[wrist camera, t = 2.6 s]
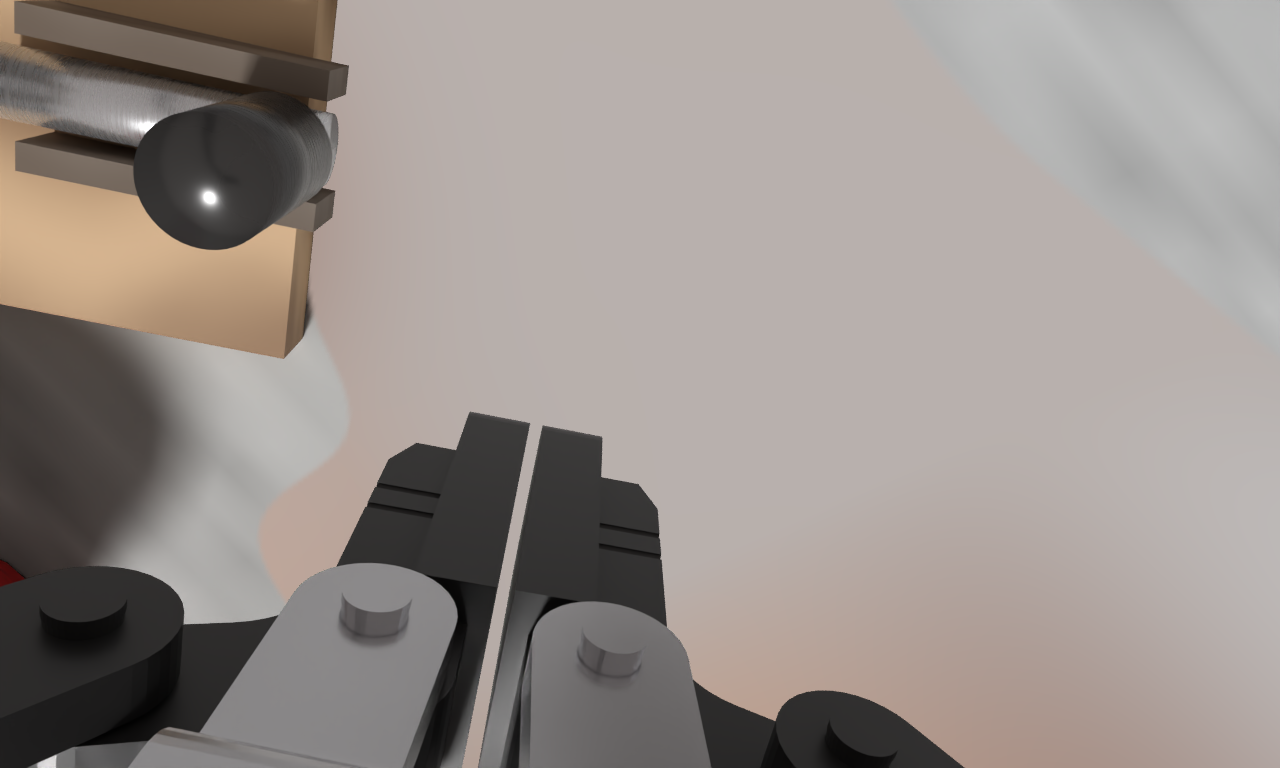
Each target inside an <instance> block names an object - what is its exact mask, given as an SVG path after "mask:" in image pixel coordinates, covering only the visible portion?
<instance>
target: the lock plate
mask: <svg viewBox="0 0 1280 768" xmlns="http://www.w3.org/2000/svg"><path fill="white" fill-rule="evenodd" d="M336 9H337V0H0V41H3V42H7V43H12V44H17V45H21V46H26V47H30V48H35V49H39V50H44V51H49V52H53V53H58V54H62V55H67V56H72V57H76V58H81V59H85V60H90V61H94V62H99V63H104V64H108V65H113V66H117V67H122V68H127V69H131V70H136V71H140V72H145V73H149V74H154V75H159V76H163V77H168V78H172V79H177V80H182V81H186V82H191V83H195V84H200V85H204V86H209V87H214V88H218V89H223V90H227V91H232V92H237V93H241V94H246V95H247V94H250V93H254V92H260V91H274V92H280V93H284V94H287V95H289V96H292V97H294V98H296V99H298V100H299V101H301V102H303V103H304V104H305V105H307V106H308V107H309V108H310V109H314V110H319V111H324V112H326V106H327V101H330V100H332V99H335V98H338V97H340V96H343V95H345V94H346V87H347V77H348V68H349V66H347V65H343V64H338V63H334V62H331V58H332V48H333V39H334V28H335V18H336ZM137 148H138V147H135V146H130V145H126V144H121V143H116V142H112V141H107V140H102V139H97V138H93V137H88V136H83V135H78V134H74V133H69V132H64V131H59V130H55V129H50V128H45V127H40V126H36V125H31V124H26V123H21V122H17V121H12V120H7V119H2V118H0V304H2V305H7V306H13V307H18V308H23V309H28V310H33V311H39V312H44V313H49V314H54V315H59V316H64V317H70V318H75V319H80V320H85V321H90V322H96V323H101V324H106V325H111V326H116V327H121V328H127V329H132V330H137V331H142V332H147V333H153V334H158V335H163V336H168V337H173V338H178V339H184V340H189V341H194V342H199V343H204V344H210V345H215V346H220V347H225V348H230V349H236V350H241V351H246V352H251V353H256V354H261V355H267V356H272V357H277V358H282V359H284V358H285V357H286V356H287V355H288V354H289V353H290V351H291V350H292V349H293V348H294V347H295V346H296V345H297V344H298V343H299V342H300V340H301V339H302V338H303V329H304V319H305V310H306V300H307V290H308V281H309V271H310V261H311V251H312V242H313V232H314V231H315V230H316V229H318V228H319V227H320V226H322V225H323V224H324V223H325V222H327V221H328V220H329V219H330V218H332V214H333V205H334V196H335V191H334V190H329V189H324V188H322V189H321V190H320V191H319V192H318V193H317V194H316V195H315V196H313V197H312V198H311V199H309V200H308V201H306V202H305V203H303V204H302V205H300V206H299V207H297V208H296V209H294V210H293V211H291V212H290V213H288V214H287V215H286V216H284V217H283V218H281V219H280V220H278V221H277V222H275V223H274V224H272V225H271V226H269V227H268V228H266V229H265V230H263V231H262V232H260V233H259V234H257V235H256V236H254V237H253V238H251V239H250V240H248V241H246V242H245V243H243V244H241V245H238V246H236V247H233V248H229V249H223V250H205V249H199V248H195V247H191V246H189V245H186V244H184V243H181V242H179V241H178V240H176V239H174V238H172V237H171V236H169V235H168V234H166V233H165V232H164V231H163V230H162V229H161V228H159V227H158V226H157V225H156V224H155V222H154V221H153V220H152V219H151V218H150V216H149V215H148V214H147V212H146V211H145V209H144V207H143V206H142V204H141V202H140V199H139V197H138V195H137V191H136V188H135V183H134V177H133V165H134V158H135V154H136V150H137Z"/></svg>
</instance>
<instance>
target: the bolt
mask: <svg viewBox="0 0 1280 768" xmlns="http://www.w3.org/2000/svg"><path fill="white" fill-rule="evenodd" d="M0 118H2V119H7V120H12V121H17V122H21V123H26V124H31V125H36V126H40V127H45V128H50V129H55V130H59V131H64V132H69V133H74V134H78V135H83V136H88V137H93V138H97V139H102V140H107V141H112V142H116V143H121V144H126V145H130V146H135V147H138V148H137V150H136V154H135V158H134V165H133V177H134V183H135V188H136V191H137V195H138V197H139V199H140V202H141V204H142V206H143V207H144V209H145V211H146V212H147V214H148V215H149V216H150V218H151V219H152V220H153V221H154V222H155V224H156V225H157V226H158V227H159V228H161V229H162V230H163V231H164V232H165V233H166V234H168V235H169V236H171V237H172V238H174V239H176V240H178V241H179V242H181V243H184V244H186V245H189V246H191V247H195V248H199V249H205V250H223V249H229V248H233V247H236V246H238V245H241V244H243V243H245V242H246V241H248V240H250V239H251V238H253V237H254V236H256V235H257V234H259V233H260V232H262V231H263V230H265V229H266V228H268V227H269V226H271V225H272V224H274V223H275V222H277V221H278V220H280V219H281V218H283V217H284V216H286V215H287V214H288V213H290V212H291V211H293V210H294V209H296V208H297V207H299V206H300V205H302V204H303V203H305V202H306V201H308V200H309V199H311V198H312V197H313V196H315V195H316V194H317V193H318V192H319V191H320V190H321V189H322V187H323V186H324V185H325V184H326V183H327V182H328V180H329V178H330V176H331V173H332V170H333V167H334V163H335V158H336V153H337V145H338V121H337V117H336V115H335V114H333V113H328V112H324V111H319V110H314V109H310V108H309V107H308V106H307V105H305V104H304V103H303V102H301V101H299V100H298V99H296V98H294V97H292V96H289V95H287V94H284V93H280V92H274V91H260V92H254V93H250V94H247V95H246V94H241V93H237V92H232V91H227V90H223V89H218V88H214V87H209V86H204V85H200V84H195V83H191V82H186V81H182V80H177V79H172V78H168V77H163V76H159V75H154V74H149V73H145V72H140V71H136V70H131V69H127V68H122V67H117V66H113V65H108V64H104V63H99V62H94V61H90V60H85V59H81V58H76V57H72V56H67V55H62V54H58V53H53V52H49V51H44V50H39V49H35V48H30V47H26V46H21V45H17V44H12V43H7V42H3V41H0Z"/></svg>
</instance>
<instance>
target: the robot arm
mask: <svg viewBox="0 0 1280 768" xmlns="http://www.w3.org/2000/svg"><path fill="white" fill-rule="evenodd" d="M529 426H530V423H526V422H521V421H516V420H511V419H505V418H500V417H495V416H490V415H485V414H479V413H474V412H470V413H469V415H468V418H467V421H466V424H465V427H464V429H463V432H462V435H461V438H460V441H459V444H458V446H457V449H456V450H451V449H446V448H440V447H436V446H430V445H425V444H419V443H416V444H414V445H412V446H411V447H409V448H407V449H405V450H404V451H402V452H400V453H399V454H397V455H395V456H394V457H392V458H390V459H389V460H388V462H387V464H386V466H385V468H384V470H383V472H382V474H381V476H380V478H379V480H378V482H377V487H375V488H374V491H373V493H372V495H371V497H370V499H369V501H368V504H367V507H365V509H364V511H363V514H362V515H361V517H360V519H359V521H358V523H357V525H356V527H355V529H354V532H353V534H352V536H351V538H350V540H349V542H348V544H347V546H346V548H345V550H344V552H343V554H342V556H341V558H340V560H339V563H338V564H337V566H336V567H333V568H330V569H327V570H324V571H322V572H319V573H318V574H315V575H314V576H312V577H310V578H308V579H307V580H306V581H305V582H303V583H302V584H301V585H300V586H299V587H298V588H297V589H296V591H295V592H294V593H293V595H292V596H291V598H290V599H289V601H288V602H287V604H286V605H285V607H284V608H283V610H282V611H281V612H280V614H279V615H277V616H274V617H270V618H266V619H260V620H254V621H246V622H234V623H210V624H185V625H183V623H184V608H183V603H182V601H181V599H180V597H179V596H178V594H177V593H176V592H175V591H174V590H173V589H172V588H171V587H170V586H169V585H167V584H166V583H164V582H163V581H161V580H159V579H157V578H155V577H153V576H151V575H148V574H145V573H142V572H139V571H135V570H130V569H125V568H117V567H106V566H89V567H76V568H68V569H62V570H56V571H52V572H48V573H44V574H40V575H37V576H34V577H30V578H27V579H24V580H21V581H17V582H14V583H11V584H8V585H4V586H1V587H0V768H462V764H463V759H464V754H465V749H466V743H467V739H468V733H469V729H470V723H471V719H472V714H473V709H474V704H475V699H476V694H477V689H478V684H479V678H480V674H481V669H482V663H483V659H484V653H485V649H486V643H487V638H488V633H489V628H490V623H491V618H492V613H493V608H494V603H495V598H496V593H497V588H498V583H499V578H500V573H501V568H502V563H503V558H504V553H505V548H506V543H507V538H508V533H509V528H510V523H511V517H512V512H513V507H514V502H515V497H516V492H517V487H518V482H519V477H520V472H521V466H522V461H523V457H524V452H525V446H526V441H527V436H528V431H529ZM601 464H602V437H600V436H595V435H590V434H584V433H580V432H574V431H569V430H564V429H558V428H553V427H548V426H543V427H542V431H541V436H540V440H539V446H538V450H537V456H536V460H535V465H534V470H533V475H532V480H531V485H530V490H529V495H528V500H527V505H526V510H525V515H524V520H523V525H522V529H521V535H520V540H519V545H518V550H517V555H516V560H515V565H514V570H513V575H512V580H511V586H510V591H509V597H508V602H507V608H506V614H505V619H504V625H503V630H502V636H501V642H500V647H499V653H498V659H497V664H496V670H495V675H494V681H493V686H492V693H491V698H490V703H489V709H488V715H487V720H486V726H485V732H484V737H483V743H482V748H481V754H480V759H479V766H478V768H964V767H963V766H962V765H960V764H959V763H958V762H956V761H955V760H954V759H953V758H951V757H950V756H949V755H948V754H946V753H945V752H944V751H943V750H941V749H940V748H939V747H938V746H936V745H935V744H934V743H933V742H931V741H930V740H929V739H928V738H926V737H925V736H924V735H923V734H922V733H920V732H919V731H918V730H917V729H915V728H914V727H913V726H911V725H910V724H909V723H908V722H906V721H905V720H904V719H902V718H901V717H900V716H898V715H897V714H895V713H893V712H892V711H890V710H888V709H886V708H885V707H883V706H881V705H878V704H877V703H874V702H872V701H870V700H867V699H864V698H861V697H859V696H856V695H851V694H847V693H843V692H836V691H811V692H806V693H802V694H799V695H797V696H795V697H793V698H791V699H789V700H788V701H787V702H786V703H785V704H784V705H783V706H782V708H781V709H780V711H779V713H778V716H777V718H776V721H773V720H771V719H768V718H766V717H763V716H760V715H758V714H756V713H753V712H750V711H748V710H746V709H743V708H741V707H738V706H736V705H733V704H731V703H729V702H727V701H725V700H723V699H721V698H719V697H717V696H716V695H714V694H712V693H710V692H709V691H707V690H706V689H704V688H703V687H702V686H700V685H699V684H697V683H696V682H695V681H694V680H693V678H692V674H691V669H690V664H689V659H688V656H687V653H686V650H685V649H684V647H683V645H682V643H681V642H680V640H679V639H678V638H677V637H676V636H675V635H674V633H673V632H671V631H670V630H669V629H668V628H667V623H666V610H665V598H664V585H663V572H662V560H660V557H661V549H660V548H661V547H660V539H659V522H658V510H657V508H656V507H655V505H654V504H653V502H652V501H651V500H650V499H649V497H648V496H647V495H646V493H645V492H644V491H643V490H642V488H641V487H640V486H639V484H634V483H629V482H623V481H618V480H613V479H608V478H602V477H601V466H602V465H601Z"/></svg>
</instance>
